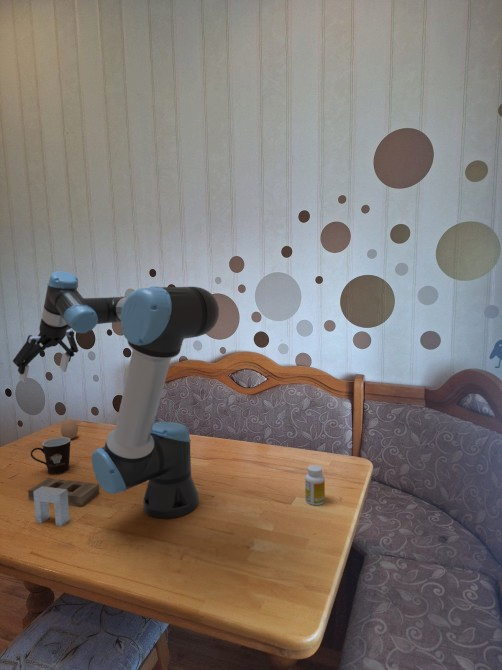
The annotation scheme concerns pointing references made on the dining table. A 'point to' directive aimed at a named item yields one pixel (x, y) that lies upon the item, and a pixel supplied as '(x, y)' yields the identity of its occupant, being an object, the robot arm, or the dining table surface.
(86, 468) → the dining table surface
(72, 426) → the egg
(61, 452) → the coffee mug
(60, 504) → the clip
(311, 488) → the supplement bottle
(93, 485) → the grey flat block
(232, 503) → the dining table surface
